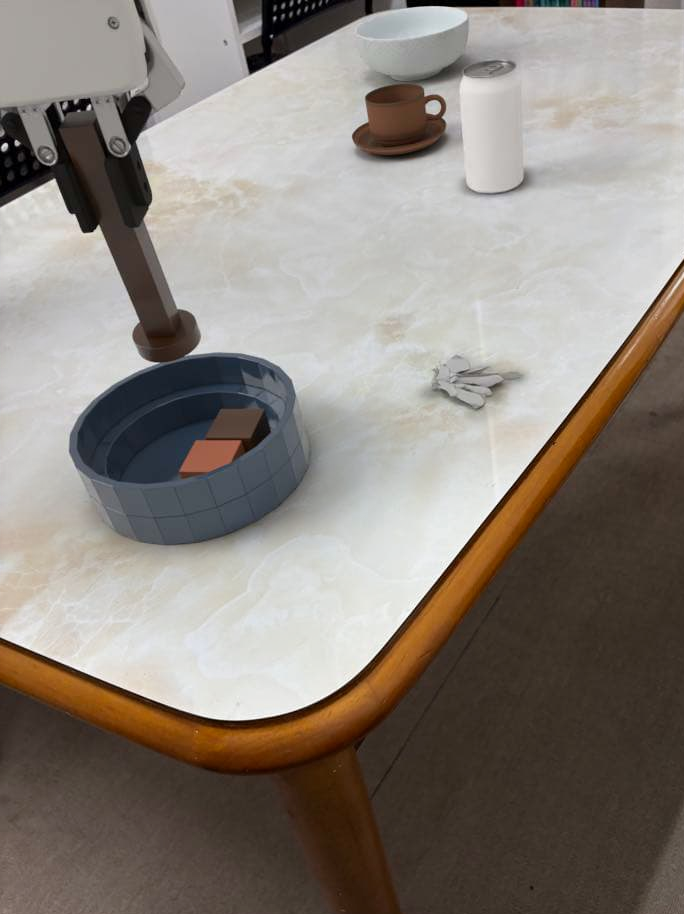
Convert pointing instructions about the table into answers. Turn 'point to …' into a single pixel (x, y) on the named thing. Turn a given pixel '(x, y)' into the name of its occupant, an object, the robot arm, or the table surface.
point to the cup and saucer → (399, 121)
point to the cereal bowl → (413, 41)
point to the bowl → (187, 448)
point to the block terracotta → (210, 456)
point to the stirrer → (129, 250)
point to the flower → (467, 380)
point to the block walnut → (240, 427)
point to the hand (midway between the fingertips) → (116, 218)
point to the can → (492, 126)
